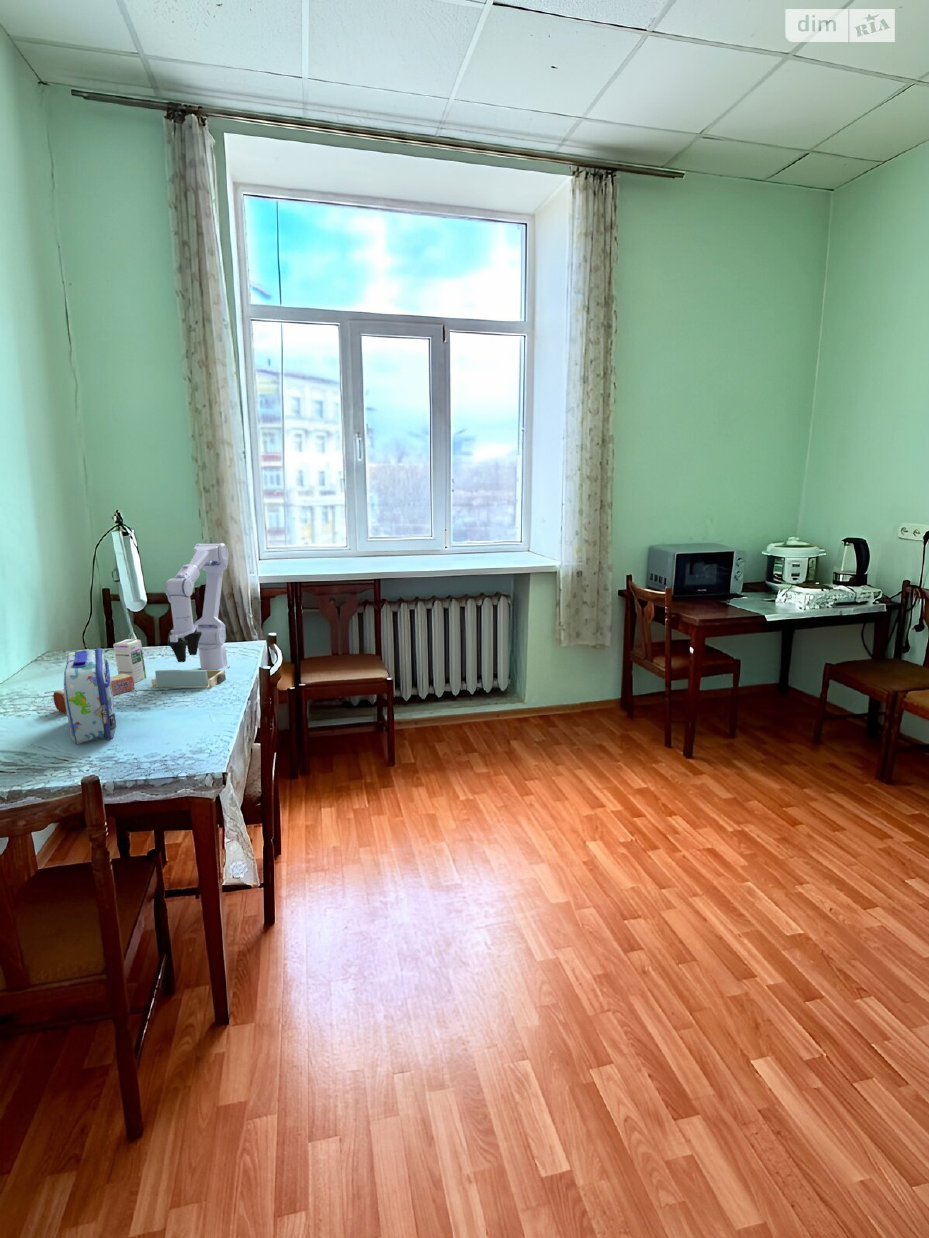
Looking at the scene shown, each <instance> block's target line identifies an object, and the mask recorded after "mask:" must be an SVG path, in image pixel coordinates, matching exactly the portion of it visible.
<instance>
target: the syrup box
mask: <svg viewBox="0 0 929 1238" xmlns="http://www.w3.org/2000/svg"><path fill="white" fill-rule="evenodd" d="M113 650H114V656H115V662H116V669H117V675H120V674H127V675H130V676H131V677H132V678H133V681H134V684H136V683H138V682H141V681H143V680H146V679H147V674H146V673H147V672H146V667H145V660H144V653H143V648H142V641H141V639H138V638H137V639H136V638H135V639H134V638H131V639H127V638H126V639H124V640H122V641H121V640H120V641H118V642H116V643H113Z"/></svg>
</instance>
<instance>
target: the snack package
mask: <svg viewBox="0 0 929 1238" xmlns="http://www.w3.org/2000/svg"><path fill="white" fill-rule="evenodd" d="M110 679H111V686H112V693H113V697H114V696H118V695H120V694H124V693H127V692H130V691H133V690H135V683H134V681H133V678H132V677H131V676H130V675H127V674H120V675H118V674H117V675H114V676H110ZM52 695H53V696H52V699H53V702H54V703H53V704H54V706H55V708H56V710H57V711H58V712H60V713H63V714H67V711H66V705H65V697H64V688H63V689H58V690H55V691H54V692H53V694H52Z"/></svg>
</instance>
